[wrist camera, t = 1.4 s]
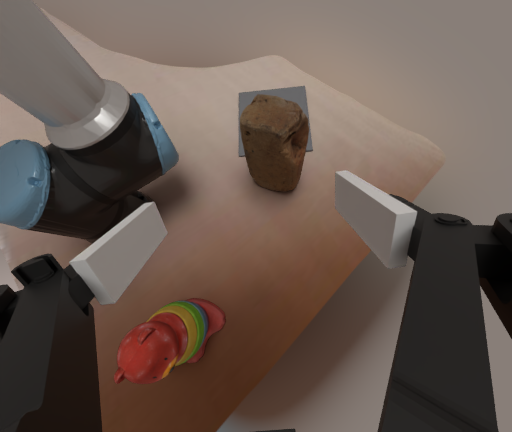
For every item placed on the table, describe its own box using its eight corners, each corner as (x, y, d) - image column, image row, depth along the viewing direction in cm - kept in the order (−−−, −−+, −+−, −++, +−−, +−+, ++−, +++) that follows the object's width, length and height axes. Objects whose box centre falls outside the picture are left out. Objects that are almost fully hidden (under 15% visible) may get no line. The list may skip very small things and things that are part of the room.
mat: (239, 156, 50) (238, 155, 49) (239, 94, 55) (238, 92, 55) (312, 151, 48) (312, 150, 48) (304, 87, 54) (304, 85, 53)
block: (249, 182, 47) (230, 120, 28) (262, 157, 49) (254, 82, 30) (291, 200, 45) (301, 145, 26) (304, 172, 47) (323, 102, 28)
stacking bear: (195, 366, 38) (127, 443, 21) (158, 330, 40) (72, 370, 23) (230, 317, 39) (195, 349, 22) (193, 284, 42) (136, 291, 25)
